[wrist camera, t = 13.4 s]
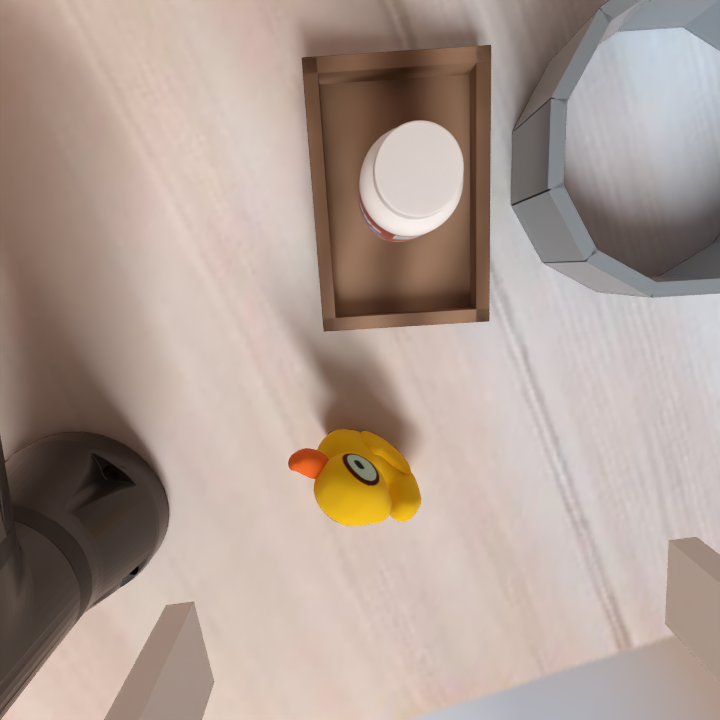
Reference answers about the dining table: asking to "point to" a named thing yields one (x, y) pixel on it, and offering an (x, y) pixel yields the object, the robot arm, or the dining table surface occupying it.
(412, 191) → the pill bottle
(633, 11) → the grey ringed piece
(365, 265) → the tray
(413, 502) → the duckling
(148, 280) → the dining table surface
